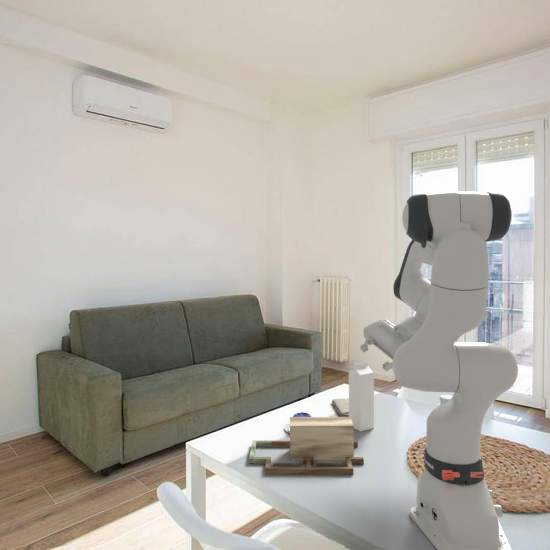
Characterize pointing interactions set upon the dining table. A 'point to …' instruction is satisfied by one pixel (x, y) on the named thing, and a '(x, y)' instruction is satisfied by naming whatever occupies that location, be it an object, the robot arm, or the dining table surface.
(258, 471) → the dining table surface
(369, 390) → the milk
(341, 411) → the washcloth
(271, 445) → the frame
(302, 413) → the pudding
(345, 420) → the beige rectangular block
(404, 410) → the dining table surface
